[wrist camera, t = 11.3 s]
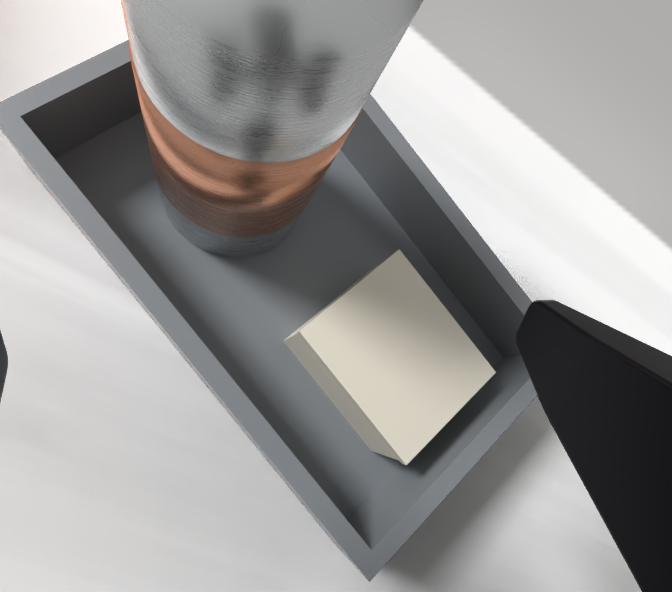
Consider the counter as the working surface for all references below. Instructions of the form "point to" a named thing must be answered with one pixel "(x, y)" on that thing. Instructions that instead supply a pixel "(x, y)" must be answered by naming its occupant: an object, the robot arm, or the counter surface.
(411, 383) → the cream smooth square block
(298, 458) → the grey rectangular tray
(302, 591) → the counter surface
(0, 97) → the counter surface
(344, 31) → the steel tin
